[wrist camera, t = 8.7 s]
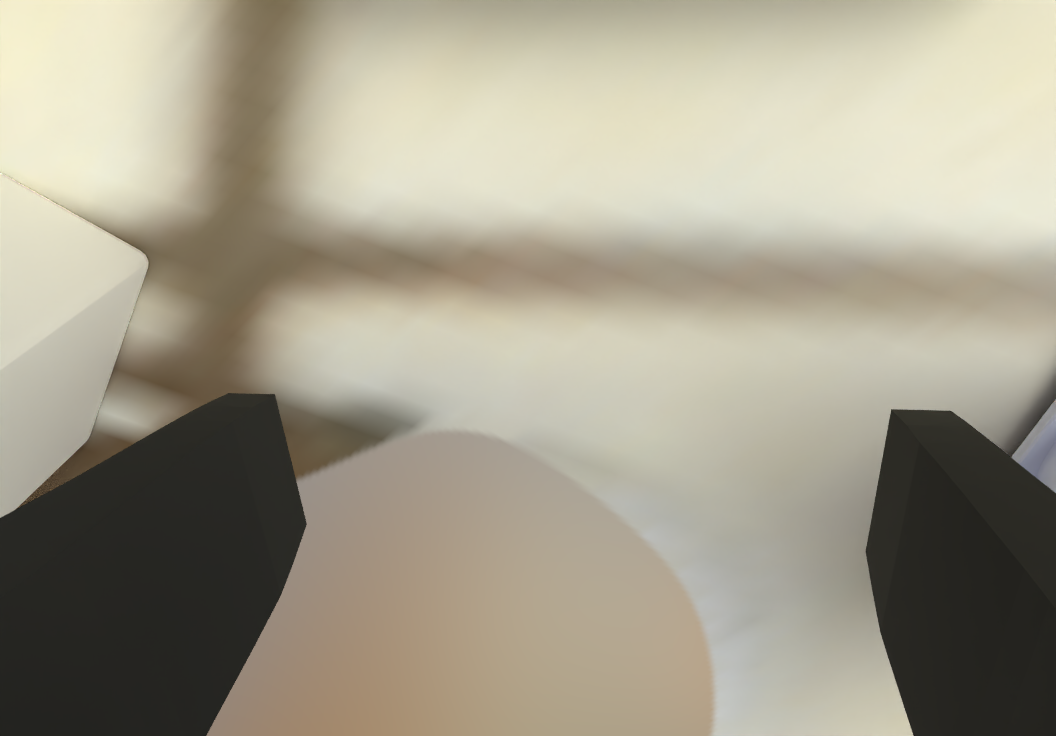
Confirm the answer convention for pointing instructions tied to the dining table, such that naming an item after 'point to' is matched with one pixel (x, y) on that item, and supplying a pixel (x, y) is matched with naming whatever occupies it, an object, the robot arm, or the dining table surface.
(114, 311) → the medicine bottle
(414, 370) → the dining table surface
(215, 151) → the dining table surface
